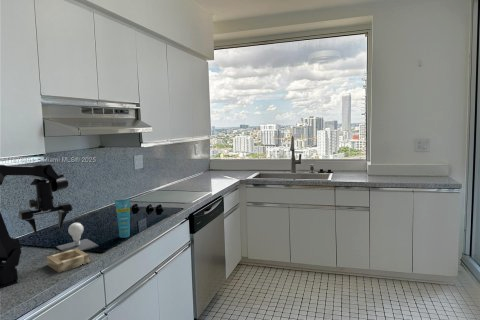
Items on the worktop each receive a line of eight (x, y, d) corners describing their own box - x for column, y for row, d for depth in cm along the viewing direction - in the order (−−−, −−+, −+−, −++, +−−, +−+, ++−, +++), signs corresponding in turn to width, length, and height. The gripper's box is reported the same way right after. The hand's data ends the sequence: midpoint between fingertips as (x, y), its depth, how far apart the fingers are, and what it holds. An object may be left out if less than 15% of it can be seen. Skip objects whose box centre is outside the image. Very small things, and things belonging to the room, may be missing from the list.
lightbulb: (82, 247, 158) (80, 224, 157) (67, 248, 158) (65, 225, 156) (86, 243, 165) (84, 220, 163) (72, 243, 164) (70, 221, 163)
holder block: (58, 272, 133) (57, 264, 133) (47, 264, 141) (46, 256, 141) (89, 262, 142) (88, 254, 142) (77, 256, 150) (76, 248, 150)
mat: (66, 255, 151) (66, 253, 151) (56, 247, 161) (56, 246, 161) (98, 246, 161) (98, 245, 161) (86, 239, 171) (86, 238, 171)
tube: (118, 239, 171) (115, 201, 169) (116, 236, 175) (113, 199, 173) (133, 236, 174) (130, 199, 172) (131, 233, 178) (129, 197, 176)
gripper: (62, 188, 154) (65, 222, 156) (13, 195, 141) (17, 232, 143) (71, 191, 146) (74, 227, 148) (20, 199, 133) (24, 238, 135)
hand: (48, 230), depth 144 cm, fingers open, 9 cm apart
